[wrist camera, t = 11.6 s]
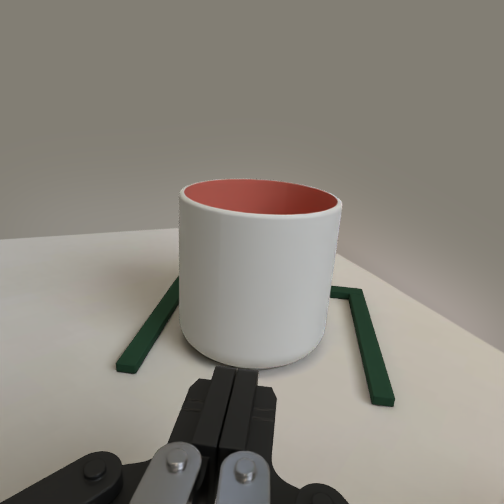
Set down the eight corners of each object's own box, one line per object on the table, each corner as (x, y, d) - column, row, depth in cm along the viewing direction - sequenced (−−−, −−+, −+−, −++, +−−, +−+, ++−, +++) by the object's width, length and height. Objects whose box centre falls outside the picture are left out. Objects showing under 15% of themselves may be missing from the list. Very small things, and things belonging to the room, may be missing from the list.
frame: (115, 371, 24) (115, 363, 24) (182, 275, 38) (182, 269, 37) (393, 407, 23) (395, 398, 23) (360, 294, 36) (361, 288, 36)
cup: (223, 290, 35) (228, 173, 32) (338, 321, 31) (358, 192, 28) (148, 348, 27) (143, 196, 23) (293, 400, 23) (314, 228, 19)
